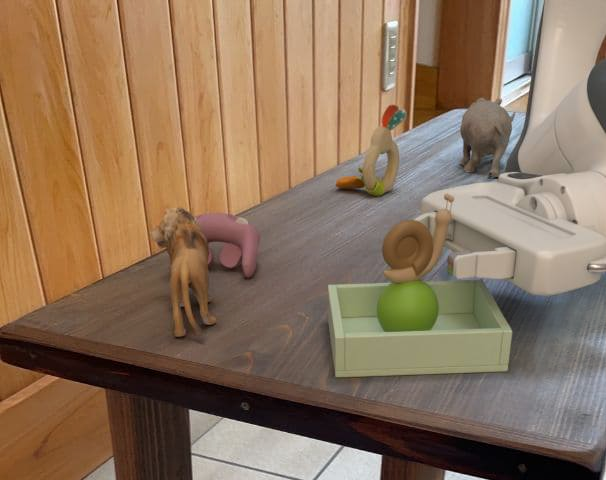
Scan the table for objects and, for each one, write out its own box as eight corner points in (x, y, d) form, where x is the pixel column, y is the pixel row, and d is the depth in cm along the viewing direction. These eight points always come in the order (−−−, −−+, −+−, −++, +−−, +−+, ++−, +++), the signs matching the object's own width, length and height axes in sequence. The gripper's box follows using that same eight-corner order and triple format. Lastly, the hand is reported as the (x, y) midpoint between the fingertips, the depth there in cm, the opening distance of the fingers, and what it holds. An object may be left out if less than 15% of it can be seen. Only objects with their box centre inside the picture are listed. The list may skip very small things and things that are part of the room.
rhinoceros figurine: (449, 162, 122) (469, 58, 122) (448, 200, 136) (466, 106, 136) (503, 169, 121) (524, 64, 121) (497, 206, 135) (516, 112, 134)
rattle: (373, 181, 125) (375, 94, 119) (408, 192, 120) (412, 102, 113) (331, 189, 122) (331, 100, 115) (365, 201, 117) (367, 108, 110)
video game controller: (261, 282, 96) (264, 217, 95) (252, 276, 91) (255, 208, 90) (177, 279, 97) (179, 215, 96) (164, 273, 93) (166, 206, 92)
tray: (479, 315, 82) (482, 279, 80) (507, 371, 72) (512, 331, 70) (328, 321, 82) (327, 284, 80) (335, 377, 72) (335, 337, 70)
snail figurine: (457, 342, 76) (469, 201, 69) (392, 355, 74) (398, 211, 67) (427, 321, 80) (436, 186, 73) (365, 333, 78) (368, 196, 71)
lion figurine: (156, 293, 89) (145, 204, 84) (206, 288, 90) (198, 199, 85) (176, 347, 78) (164, 248, 73) (233, 339, 79) (226, 241, 74)
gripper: (632, 300, 70) (485, 328, 66) (496, 234, 85) (371, 254, 81) (648, 220, 66) (494, 245, 62) (503, 167, 82) (372, 185, 78)
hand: (423, 250), depth 72 cm, fingers open, 8 cm apart
